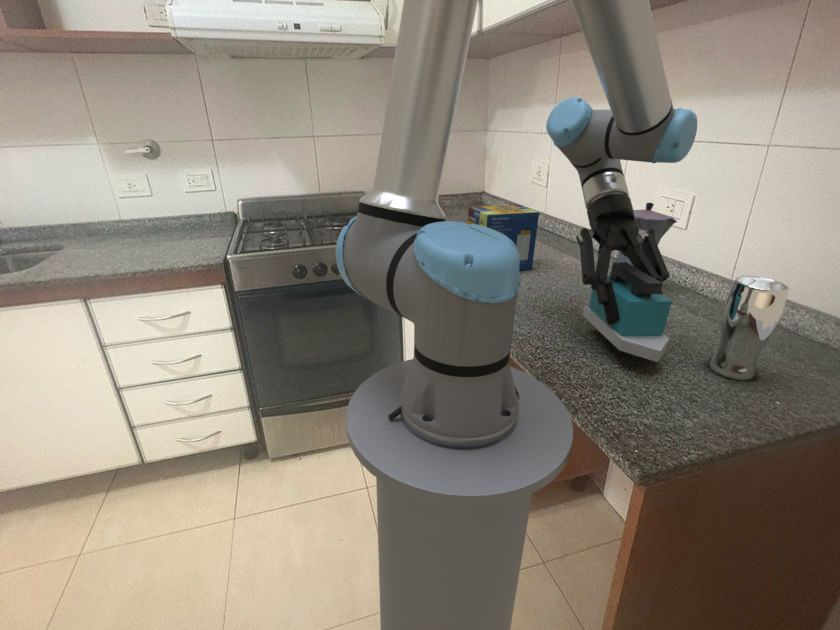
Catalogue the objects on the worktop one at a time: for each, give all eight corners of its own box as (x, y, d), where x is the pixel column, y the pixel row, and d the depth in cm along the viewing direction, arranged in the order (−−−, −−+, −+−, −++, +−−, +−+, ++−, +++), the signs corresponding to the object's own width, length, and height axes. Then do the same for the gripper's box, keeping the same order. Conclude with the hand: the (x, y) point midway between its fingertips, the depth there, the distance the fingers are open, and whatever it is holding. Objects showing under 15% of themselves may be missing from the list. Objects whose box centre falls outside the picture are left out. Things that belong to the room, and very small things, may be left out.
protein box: (464, 263, 122) (467, 206, 116) (512, 258, 127) (518, 204, 120) (481, 275, 113) (486, 214, 107) (533, 269, 118) (540, 211, 112)
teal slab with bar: (581, 315, 83) (592, 258, 79) (622, 314, 84) (634, 258, 79) (632, 363, 67) (649, 295, 62) (682, 361, 67) (702, 294, 63)
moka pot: (663, 295, 102) (686, 208, 94) (593, 288, 106) (609, 203, 97) (655, 282, 110) (676, 201, 102) (590, 275, 114) (605, 196, 106)
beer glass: (696, 361, 74) (722, 276, 67) (731, 358, 75) (760, 274, 69) (730, 384, 67) (763, 292, 61) (768, 379, 69) (804, 289, 63)
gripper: (563, 190, 76) (587, 313, 68) (671, 191, 78) (708, 312, 70) (548, 215, 83) (568, 329, 75) (647, 215, 85) (678, 327, 77)
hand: (636, 321), depth 72 cm, fingers closed on teal slab with bar, 7 cm apart
